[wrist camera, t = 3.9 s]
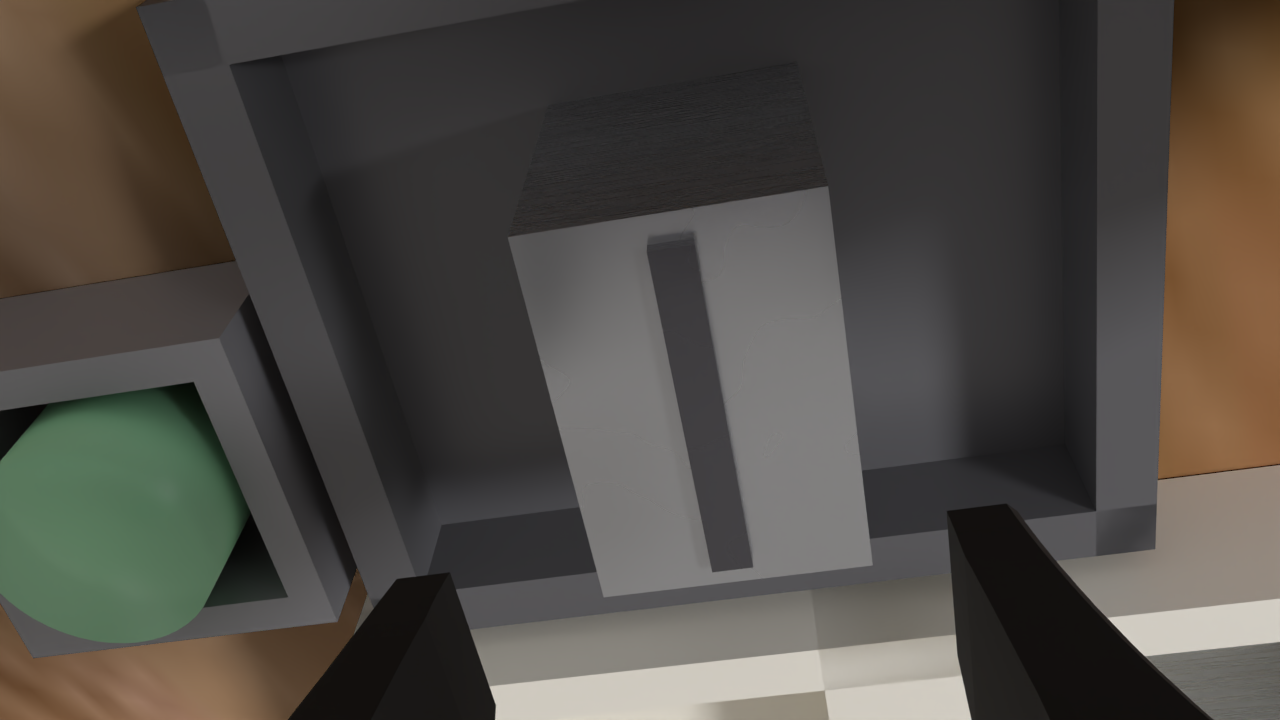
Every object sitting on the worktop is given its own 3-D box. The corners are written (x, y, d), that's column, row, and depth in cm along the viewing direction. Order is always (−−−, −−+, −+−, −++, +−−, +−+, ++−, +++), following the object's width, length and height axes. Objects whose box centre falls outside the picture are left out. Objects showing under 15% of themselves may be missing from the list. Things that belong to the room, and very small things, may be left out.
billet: (796, 62, 19) (829, 193, 14) (837, 383, 22) (874, 574, 17) (548, 104, 19) (505, 244, 15) (620, 414, 22) (602, 606, 18)
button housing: (275, 254, 22) (219, 338, 19) (374, 517, 25) (337, 622, 22) (-33, 304, 22) (-127, 390, 20) (100, 554, 25) (33, 658, 23)
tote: (1120, -214, 17) (1180, -193, 15) (1112, 464, 23) (1155, 549, 21) (198, -34, 19) (136, 7, 17) (411, 553, 25) (385, 639, 23)
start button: (222, 340, 21) (157, 437, 19) (296, 519, 23) (247, 629, 21) (13, 372, 22) (-78, 471, 19) (103, 544, 24) (31, 655, 21)
